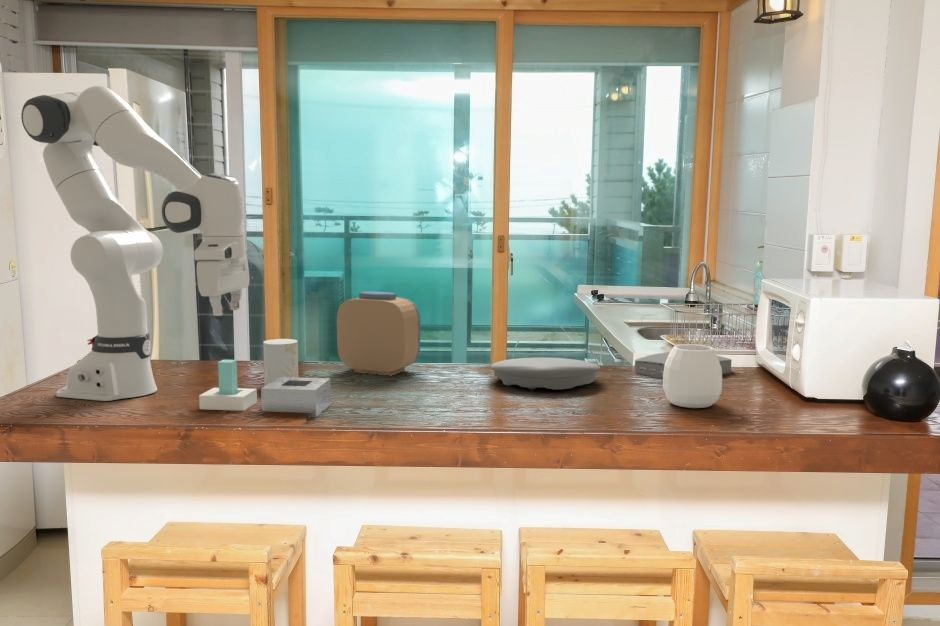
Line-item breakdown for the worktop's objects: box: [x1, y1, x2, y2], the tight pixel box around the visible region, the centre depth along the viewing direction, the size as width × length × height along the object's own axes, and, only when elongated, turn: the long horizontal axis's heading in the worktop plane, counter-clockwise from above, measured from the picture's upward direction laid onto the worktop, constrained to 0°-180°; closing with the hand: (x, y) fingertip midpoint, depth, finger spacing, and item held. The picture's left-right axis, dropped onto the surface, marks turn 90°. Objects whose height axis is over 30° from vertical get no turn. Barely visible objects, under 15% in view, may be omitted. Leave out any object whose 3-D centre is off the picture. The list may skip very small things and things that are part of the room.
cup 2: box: [662, 343, 723, 409], centre depth 197 cm, size 13×13×14 cm
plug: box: [217, 359, 238, 395], centre depth 190 cm, size 3×3×10 cm
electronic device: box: [634, 351, 732, 379], centre depth 235 cm, size 19×22×5 cm
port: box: [260, 376, 332, 418], centre depth 191 cm, size 12×12×6 cm
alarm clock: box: [336, 291, 421, 377], centre depth 232 cm, size 21×10×22 cm, turn 66°
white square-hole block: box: [198, 387, 258, 412], centre depth 191 cm, size 10×8×4 cm
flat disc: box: [490, 357, 601, 391], centre depth 221 cm, size 28×28×4 cm
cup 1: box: [263, 338, 299, 386], centre depth 211 cm, size 8×8×12 cm
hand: (226, 312), depth 188 cm, fingers open, 8 cm apart
